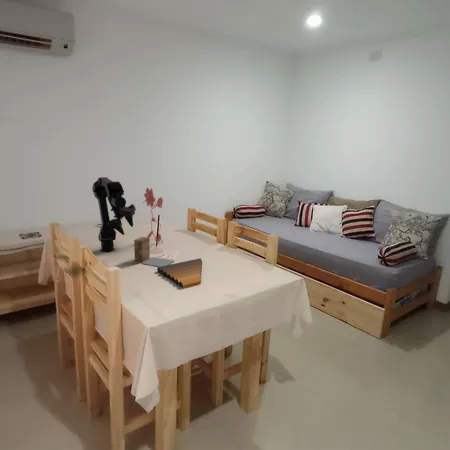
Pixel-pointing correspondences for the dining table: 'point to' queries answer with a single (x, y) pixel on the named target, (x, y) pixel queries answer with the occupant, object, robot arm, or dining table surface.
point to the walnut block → (142, 249)
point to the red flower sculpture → (151, 200)
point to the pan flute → (183, 272)
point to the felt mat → (157, 262)
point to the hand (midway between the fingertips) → (128, 230)
